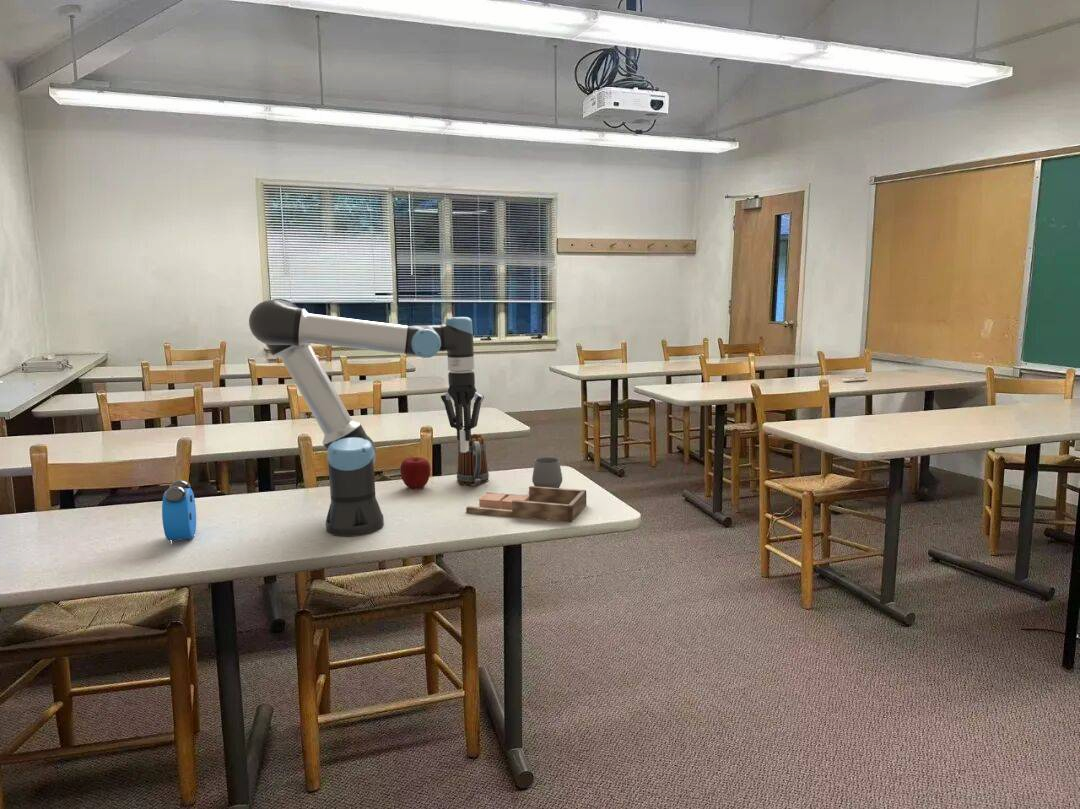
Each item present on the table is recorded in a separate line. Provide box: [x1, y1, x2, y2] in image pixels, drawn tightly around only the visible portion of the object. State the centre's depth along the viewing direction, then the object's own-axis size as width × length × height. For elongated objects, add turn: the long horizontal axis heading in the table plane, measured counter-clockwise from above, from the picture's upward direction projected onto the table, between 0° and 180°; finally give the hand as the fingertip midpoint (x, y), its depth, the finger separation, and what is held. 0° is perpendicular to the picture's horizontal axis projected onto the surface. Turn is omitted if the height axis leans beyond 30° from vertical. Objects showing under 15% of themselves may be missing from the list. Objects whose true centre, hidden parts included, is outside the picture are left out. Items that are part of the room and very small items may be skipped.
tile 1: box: [478, 493, 506, 509], centre depth 208 cm, size 6×6×3 cm
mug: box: [456, 433, 490, 486], centre depth 231 cm, size 16×11×15 cm
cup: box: [531, 456, 563, 488], centre depth 221 cm, size 10×9×10 cm
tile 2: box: [501, 495, 529, 510], centre depth 206 cm, size 6×6×3 cm
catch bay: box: [465, 485, 587, 523], centre depth 204 cm, size 31×15×4 cm, turn 72°
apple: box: [399, 456, 431, 490], centre depth 227 cm, size 10×10×10 cm
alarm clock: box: [161, 479, 197, 542], centre depth 184 cm, size 13×6×15 cm, turn 18°
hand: (464, 451), depth 208 cm, fingers closed
